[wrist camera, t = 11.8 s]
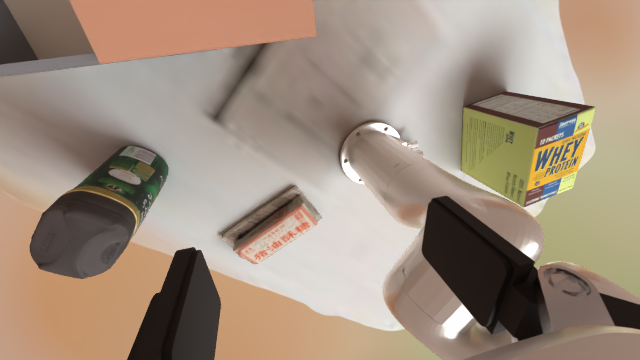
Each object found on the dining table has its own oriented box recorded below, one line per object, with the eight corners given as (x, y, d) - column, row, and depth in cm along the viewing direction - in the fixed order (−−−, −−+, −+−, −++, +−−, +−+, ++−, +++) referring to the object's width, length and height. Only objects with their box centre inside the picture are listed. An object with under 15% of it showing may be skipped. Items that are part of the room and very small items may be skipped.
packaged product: (299, 195, 46) (327, 228, 51) (295, 182, 50) (321, 214, 55) (218, 250, 47) (253, 277, 52) (221, 233, 51) (253, 260, 56)
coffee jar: (153, 205, 44) (99, 293, 28) (100, 185, 41) (5, 273, 25) (178, 161, 42) (135, 230, 26) (124, 135, 39) (37, 198, 23)
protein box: (460, 171, 58) (523, 209, 45) (462, 106, 51) (538, 127, 37) (500, 156, 59) (573, 188, 46) (508, 90, 52) (599, 105, 38)
